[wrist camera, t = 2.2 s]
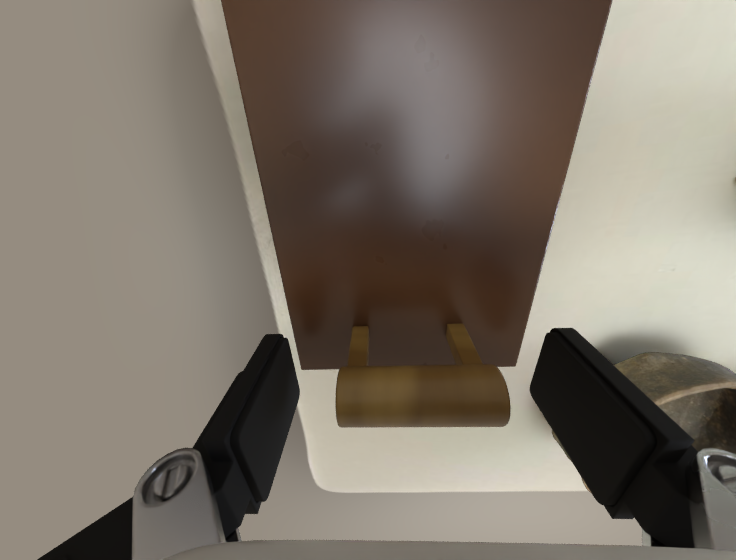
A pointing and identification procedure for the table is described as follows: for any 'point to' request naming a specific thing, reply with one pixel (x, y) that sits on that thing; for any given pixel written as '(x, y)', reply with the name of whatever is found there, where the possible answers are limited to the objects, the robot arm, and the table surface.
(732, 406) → the bowl
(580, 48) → the lid
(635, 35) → the table surface
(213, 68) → the table surface
